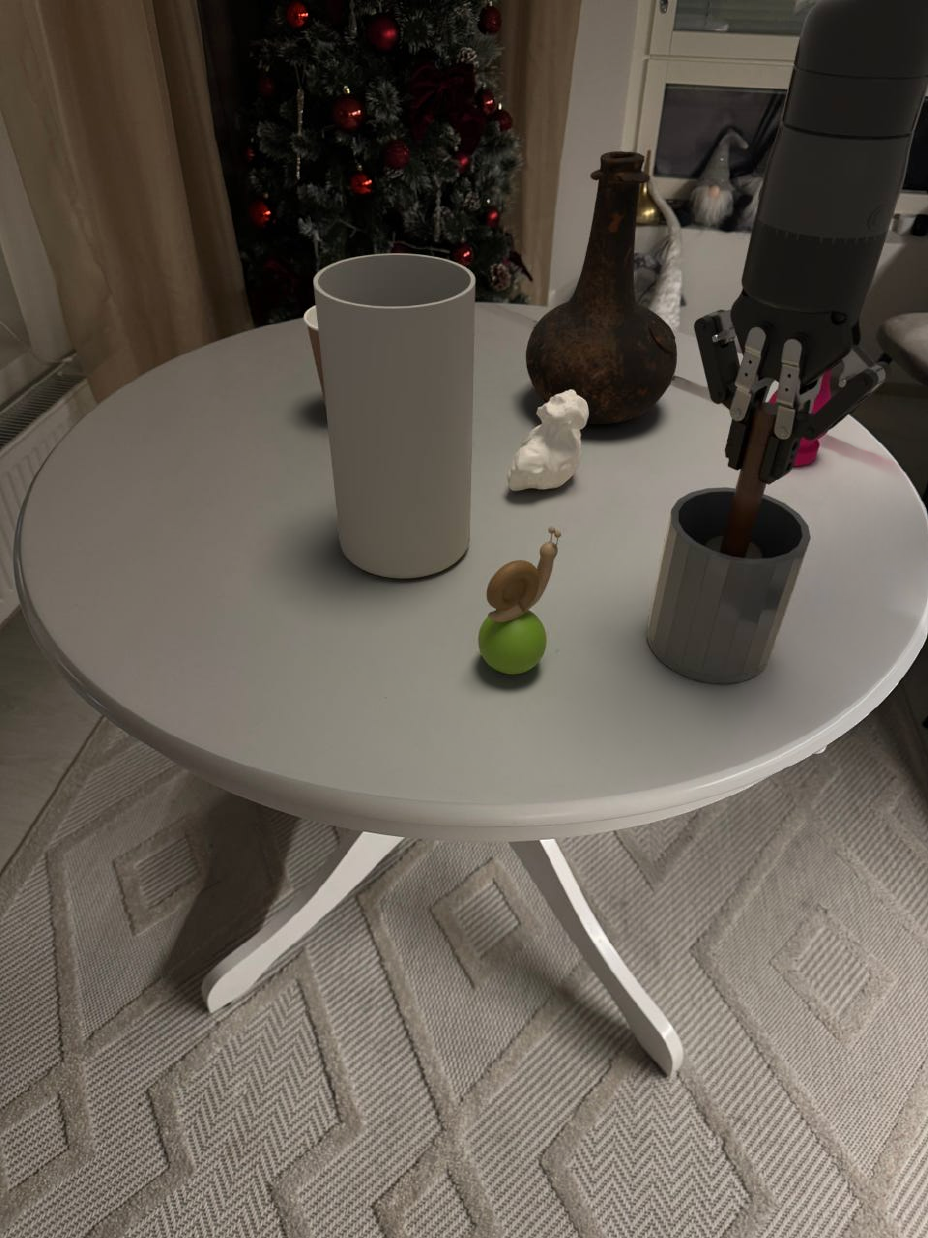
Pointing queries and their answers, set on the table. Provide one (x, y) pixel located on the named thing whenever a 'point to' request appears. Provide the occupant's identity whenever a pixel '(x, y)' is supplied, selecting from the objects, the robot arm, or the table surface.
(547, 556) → the snail figurine
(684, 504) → the grey pencil holder
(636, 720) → the table surface
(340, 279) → the cylinder vase
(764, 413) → the brush
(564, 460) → the bust
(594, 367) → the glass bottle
